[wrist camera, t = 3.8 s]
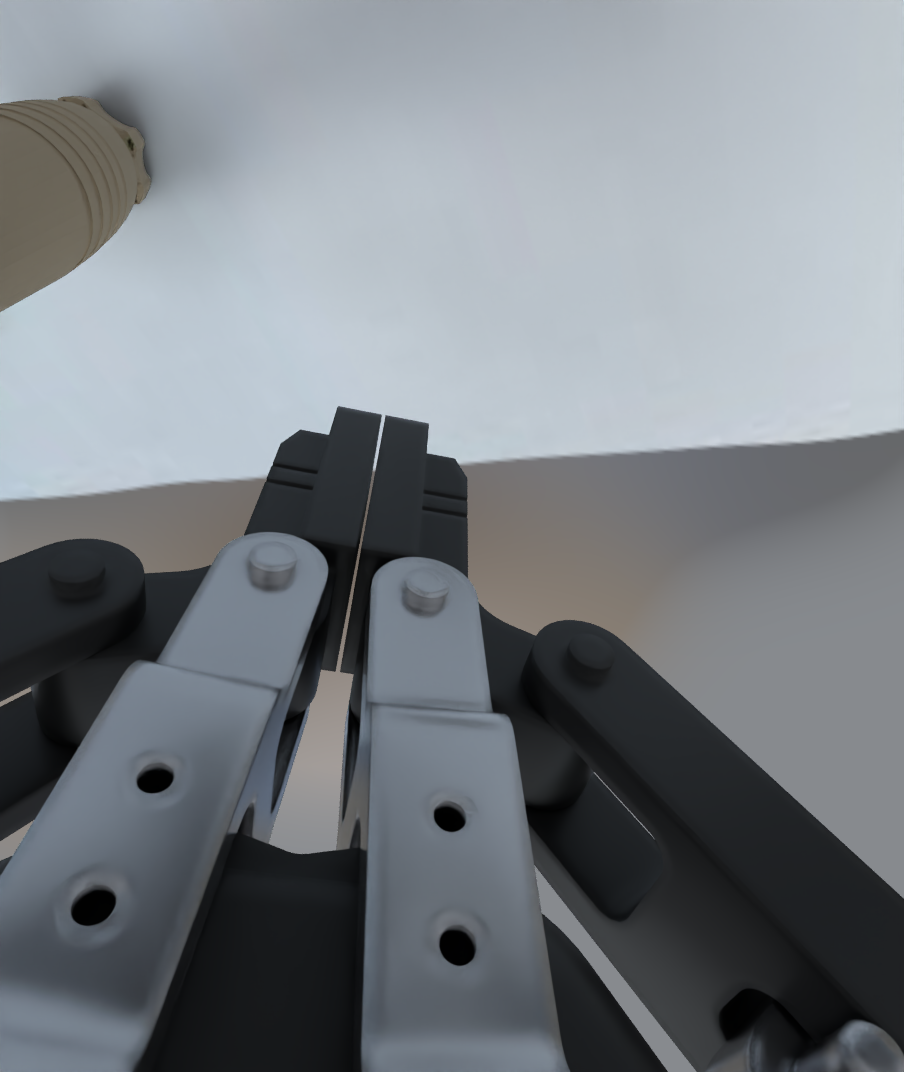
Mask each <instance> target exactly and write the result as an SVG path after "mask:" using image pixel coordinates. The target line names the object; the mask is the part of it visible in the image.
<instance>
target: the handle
mask: <svg viewBox="0 0 904 1072" xmlns="http://www.w3.org/2000/svg"><path fill="white" fill-rule="evenodd" d="M144 146H145V141H144V140H143V138H142V136H141V134H140V133H139V131H138V130H137V129H136V128H135V127H129V126H127V125H124V124H122V123H121V122H119V121H117V120H115V119H114V118H113V117H111V116H110V115H109V114H108V113H106V112H105V111H104V109H103V108H102V106H101V105H100V103H99V102H98V101H97V100H94V99H91V98H86V97H81V96H71V97H61V98H58V100H25V101H17V102H11V103H3V104H0V312H1V311H3V310H5V309H6V308H8V307H10V306H12V305H14V304H15V303H17V302H19V301H21V300H23V299H24V298H26V297H28V296H30V295H32V294H33V293H35V292H37V291H39V290H40V289H42V288H44V287H46V286H48V285H49V284H51V283H53V282H55V281H57V280H58V279H60V278H62V277H63V276H65V275H67V274H68V273H69V272H71V271H72V270H74V269H75V268H76V267H78V266H79V265H80V264H81V263H83V262H84V261H86V260H87V259H88V258H89V257H91V256H92V255H93V254H94V253H95V252H96V251H98V250H99V249H100V248H101V247H102V246H103V245H104V244H105V243H106V242H107V241H108V240H109V239H110V238H111V237H112V236H113V235H114V234H115V233H116V232H117V230H118V229H119V228H120V227H121V225H122V224H123V222H124V221H125V220H126V218H127V217H128V215H129V213H130V211H131V209H132V207H133V205H134V204H140V203H141V202H142V201H143V199H144V198H145V197H146V195H147V193H148V191H149V188H150V185H151V179H150V176H149V175H148V174H147V173H146V170H145V167H144V163H143V148H144Z"/></svg>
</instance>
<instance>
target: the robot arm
mask: <svg viewBox="0 0 904 1072" xmlns="http://www.w3.org/2000/svg"><path fill="white" fill-rule="evenodd" d="M381 417H382V415H381V414H376V413H371V412H365V411H360V410H355V409H350V408H345V407H340V406H338V408H337V411H336V414H335V417H334V421H333V424H332V427H331V430H330V434H329V435H326V434H321V433H315V432H310V431H305V430H299V431H298V432H296V433H295V434H294V435H292V436H291V437H289V438H288V439H287V440H285V441H284V442H282V443H281V444H280V447H279V449H278V452H277V454H276V457H275V459H274V462H273V466H272V467H271V469H270V472H269V474H268V477H267V481H266V482H265V484H264V487H263V489H262V491H261V494H260V497H259V499H258V501H257V504H256V506H255V509H254V511H253V514H252V516H251V519H250V522H249V524H248V526H247V529H246V531H245V534H244V536H242V537H239V538H237V539H235V540H233V541H231V542H230V543H228V544H227V545H226V546H224V548H222V549H221V550H220V552H219V553H218V555H217V556H216V558H215V560H214V562H213V563H212V565H209V566H206V567H203V568H199V569H194V570H190V571H181V572H180V571H179V572H163V573H147V574H144V569H143V565H142V563H141V561H140V559H139V558H138V557H137V556H136V555H135V554H134V553H133V552H131V551H130V550H129V549H127V548H125V547H123V546H121V545H119V544H116V543H113V542H109V541H104V540H98V539H73V540H65V541H61V542H56V543H53V544H50V545H47V546H44V547H41V548H39V549H36V550H33V551H31V552H28V553H25V554H23V555H20V556H17V557H15V558H12V559H9V560H7V561H4V562H1V563H0V702H1V701H3V700H5V699H7V698H9V697H11V696H13V695H14V694H17V693H19V692H20V691H23V690H25V689H27V688H29V687H31V692H29V693H27V694H25V695H23V696H21V697H19V698H17V699H15V700H13V701H11V702H9V703H7V704H5V705H3V706H1V707H0V841H1V840H3V839H4V838H6V837H8V836H9V835H11V834H12V833H14V832H16V831H17V830H18V829H20V828H22V827H23V826H25V825H27V824H28V823H30V822H31V821H33V820H34V822H33V823H32V825H31V826H30V828H29V830H28V832H27V833H26V835H25V836H24V838H23V840H22V841H21V843H20V845H19V846H18V848H17V849H16V851H15V853H14V855H13V856H11V857H9V858H6V859H4V860H1V861H0V1072H668V1071H667V1070H666V1069H665V1067H664V1066H663V1064H662V1063H661V1062H660V1060H659V1059H658V1058H657V1056H656V1055H655V1053H654V1052H653V1051H652V1049H651V1048H650V1046H649V1045H648V1044H647V1042H646V1041H645V1040H644V1038H643V1037H642V1035H641V1034H640V1033H639V1031H638V1030H637V1028H636V1027H635V1026H634V1024H633V1023H632V1022H631V1020H630V1019H629V1017H628V1016H627V1015H626V1014H625V1012H624V1011H623V1009H622V1008H621V1006H620V1005H619V1004H618V1002H617V1001H616V1000H615V998H614V997H613V995H612V994H611V992H610V991H609V990H608V988H607V987H606V986H605V984H604V983H603V981H602V980H601V979H600V977H599V976H598V975H597V973H596V972H595V970H594V969H593V968H592V966H591V965H590V963H589V962H588V961H587V960H586V958H585V957H584V956H583V954H582V953H581V952H580V951H579V949H578V948H577V947H576V946H575V945H574V944H573V943H572V942H571V940H570V939H569V938H568V937H567V936H566V935H565V934H564V933H563V932H562V931H561V930H560V929H559V928H558V927H557V926H556V925H555V924H553V923H552V922H551V921H550V920H549V919H548V918H547V917H545V915H543V914H542V913H541V906H540V899H539V893H538V887H537V880H536V873H535V867H534V865H535V866H536V867H537V869H538V870H539V871H540V872H541V874H542V875H543V876H544V878H545V879H546V880H547V881H548V883H549V884H550V885H551V887H552V888H553V889H554V890H555V892H556V893H557V894H558V895H559V897H560V898H561V899H562V901H563V902H564V903H565V904H566V905H567V907H568V908H569V909H570V911H571V912H572V913H573V915H574V916H575V917H576V918H577V920H578V921H579V922H580V923H581V925H582V926H583V927H584V928H585V930H586V931H587V932H588V934H589V935H590V936H591V938H592V939H593V940H594V941H595V942H596V944H597V945H598V946H599V948H600V949H601V950H602V951H603V953H604V954H605V955H606V957H607V958H608V959H609V960H610V962H611V963H612V964H613V966H614V967H615V968H616V969H617V971H618V972H619V973H620V974H621V976H622V977H623V978H624V980H625V981H626V982H627V983H628V985H629V986H630V987H631V989H632V990H633V991H634V992H635V994H636V995H637V996H638V997H639V999H640V1000H641V1001H642V1003H643V1004H644V1005H645V1006H646V1008H647V1009H648V1010H649V1011H650V1013H651V1014H652V1015H653V1016H654V1018H655V1019H656V1020H657V1022H658V1023H659V1024H660V1025H661V1027H662V1028H663V1029H664V1031H665V1032H666V1033H667V1034H668V1036H669V1037H670V1038H671V1039H672V1041H673V1042H674V1043H675V1045H676V1046H677V1047H678V1048H679V1050H680V1051H681V1052H682V1053H683V1055H684V1056H685V1057H686V1059H687V1060H688V1061H689V1062H690V1064H691V1065H692V1066H693V1067H694V1069H695V1070H696V1071H697V1072H904V899H903V898H902V897H901V896H900V895H899V894H898V893H897V892H896V891H895V890H894V889H893V888H891V887H890V886H889V885H888V884H887V883H886V882H885V881H884V880H883V879H882V878H881V877H879V876H878V875H877V874H876V873H875V872H874V871H873V870H872V869H871V868H870V867H869V866H867V865H866V864H865V863H864V862H863V861H862V860H861V859H860V858H859V857H858V856H857V855H855V854H854V853H853V852H852V851H851V850H850V849H849V848H848V847H847V846H845V844H843V843H842V842H841V841H840V840H839V839H838V838H837V837H836V836H835V835H834V834H832V833H831V832H830V831H829V830H828V829H827V828H826V827H825V826H824V825H823V824H822V823H821V822H819V821H818V820H817V819H816V818H815V817H814V816H813V815H812V814H811V813H809V812H808V811H807V810H806V809H805V808H804V807H803V806H802V805H801V804H800V803H799V802H798V801H797V800H795V799H794V798H793V797H792V796H791V795H790V794H789V793H788V792H787V791H785V790H784V789H783V788H782V787H781V786H780V785H779V784H778V783H777V782H776V781H775V780H774V779H773V778H771V777H770V776H769V775H768V774H767V773H766V772H765V771H764V770H763V769H762V768H760V767H759V766H758V765H757V764H756V763H755V762H754V761H753V760H752V759H751V758H750V757H748V756H747V755H746V754H745V753H744V752H743V751H742V750H741V749H740V748H739V747H737V745H735V744H734V743H733V742H732V741H731V740H730V739H729V738H728V737H727V736H726V735H725V734H723V733H722V732H721V731H720V730H719V729H718V728H717V727H716V726H715V725H714V724H713V723H711V722H710V721H709V720H708V719H707V718H706V717H705V716H704V715H702V713H700V712H699V711H698V710H697V709H696V708H695V707H694V706H693V705H692V704H691V703H690V702H689V701H687V700H686V699H685V698H684V697H683V696H682V695H681V694H680V693H679V692H678V691H677V690H675V689H674V688H673V687H672V686H671V685H670V684H669V683H668V682H667V681H666V680H665V679H663V678H662V677H661V676H660V675H659V674H658V673H657V672H656V671H655V670H654V669H652V668H651V667H650V666H649V665H648V664H647V663H646V662H645V661H644V660H643V659H642V658H641V657H639V656H638V655H637V654H636V653H635V652H634V651H633V650H632V649H631V648H630V647H629V646H627V645H626V644H625V643H624V642H623V641H622V640H620V639H619V638H618V637H617V636H615V635H614V634H612V633H611V632H609V631H607V630H605V629H603V628H601V627H599V626H596V625H594V624H591V623H587V622H583V621H575V620H563V621H557V622H554V623H551V624H549V625H547V626H545V627H544V628H543V629H542V630H540V631H539V633H538V634H537V636H535V635H532V634H530V633H528V632H526V631H523V630H521V629H518V628H516V627H514V626H511V625H509V624H507V623H505V622H503V621H501V620H499V619H498V618H496V617H495V616H493V615H492V614H490V613H489V612H488V611H487V610H485V609H484V608H483V607H482V606H481V605H480V604H479V602H478V597H477V593H476V590H475V588H474V587H473V585H472V583H471V582H470V581H469V580H468V546H467V545H468V541H467V540H468V534H467V533H468V529H467V526H468V524H467V477H466V476H465V474H464V472H463V471H462V469H461V468H460V466H459V465H458V463H457V461H456V460H455V459H454V458H449V457H443V456H438V455H433V454H427V440H428V428H429V424H428V423H423V422H418V421H413V420H408V419H402V418H397V417H392V416H387V415H386V417H385V422H384V427H383V433H382V438H381V444H380V449H379V455H378V460H377V466H376V471H375V476H374V483H373V487H372V493H371V499H370V504H369V510H368V515H367V520H366V526H365V531H364V536H363V542H362V547H361V553H360V559H359V565H358V570H357V576H356V582H355V588H354V594H353V600H352V605H351V611H350V617H349V623H348V629H347V635H346V640H345V647H344V652H343V658H342V664H341V670H340V672H343V673H350V674H354V676H353V682H352V688H351V695H350V700H349V706H348V711H347V716H346V722H345V735H344V749H343V764H342V779H341V793H340V807H339V808H340V809H339V822H338V836H337V846H336V850H335V851H327V852H320V853H311V854H295V853H291V852H287V851H285V850H282V849H280V848H277V847H275V846H272V845H270V844H269V841H270V837H271V834H272V830H273V827H274V823H275V820H276V816H277V814H278V810H279V807H280V804H281V801H282V798H283V794H284V791H285V788H286V785H287V782H288V778H289V775H290V772H291V769H292V765H293V762H294V759H295V756H296V753H297V750H298V746H299V743H300V740H301V737H302V734H303V730H304V727H305V724H306V721H307V718H308V713H309V706H310V703H311V702H312V700H313V698H314V697H315V694H316V691H317V686H318V681H319V676H320V672H321V669H322V670H328V671H336V666H337V660H338V655H339V650H340V644H341V639H342V634H343V628H344V623H345V618H346V612H347V607H348V602H349V597H350V591H351V586H352V581H353V575H354V570H355V565H356V560H357V554H358V549H359V544H360V538H361V533H362V528H363V522H364V517H365V511H366V505H367V500H368V494H369V488H370V482H371V476H372V470H373V464H374V458H375V453H376V447H377V441H378V435H379V429H380V423H381ZM593 772H595V773H596V774H597V775H598V776H599V777H600V779H601V780H602V781H603V782H604V783H605V784H606V785H607V786H608V787H609V788H610V789H611V790H612V792H613V793H614V794H615V795H616V796H617V797H618V798H619V799H620V800H621V801H622V802H623V804H624V805H625V806H626V807H627V808H628V809H629V810H630V811H631V812H632V813H633V814H634V816H636V818H637V819H638V820H639V821H640V822H641V823H642V824H643V825H644V826H645V828H646V829H647V830H648V831H649V832H650V833H651V834H652V836H653V837H654V839H653V837H652V836H651V835H650V834H649V833H648V832H647V831H646V830H645V828H644V827H643V826H642V825H641V824H640V823H639V822H638V821H637V820H636V819H635V818H634V817H633V815H632V814H631V813H630V812H629V811H628V810H627V809H626V808H625V807H624V806H623V805H622V803H621V802H620V801H619V800H618V799H617V798H616V797H615V796H614V795H613V794H612V792H611V791H610V790H609V789H608V788H607V787H606V786H605V785H604V784H603V783H602V782H601V781H600V779H599V778H598V777H597V776H596V775H595V774H594V773H593Z"/></svg>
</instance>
